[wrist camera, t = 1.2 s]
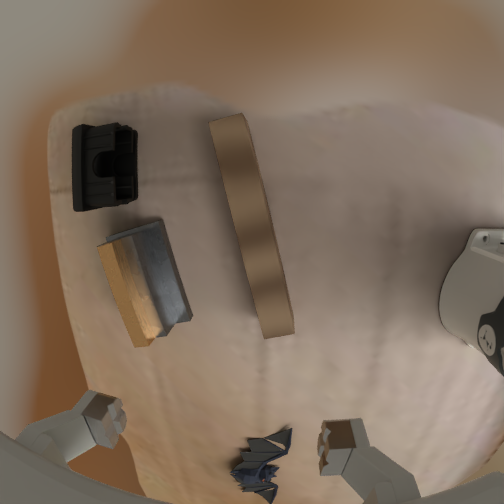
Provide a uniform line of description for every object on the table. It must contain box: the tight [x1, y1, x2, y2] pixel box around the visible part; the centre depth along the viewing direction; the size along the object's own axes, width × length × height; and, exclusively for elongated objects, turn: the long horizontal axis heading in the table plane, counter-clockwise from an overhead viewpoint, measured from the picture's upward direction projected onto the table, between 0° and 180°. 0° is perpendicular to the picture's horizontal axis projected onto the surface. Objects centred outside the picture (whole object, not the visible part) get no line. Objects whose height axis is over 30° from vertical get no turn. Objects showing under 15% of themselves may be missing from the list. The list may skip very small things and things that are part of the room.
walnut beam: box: [208, 113, 295, 339], centre depth 32 cm, size 24×4×5 cm, turn 14°
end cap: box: [72, 122, 138, 212], centre depth 31 cm, size 10×7×7 cm
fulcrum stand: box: [97, 220, 193, 347], centre depth 33 cm, size 8×13×8 cm, turn 14°
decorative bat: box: [230, 428, 292, 504], centre depth 44 cm, size 30×4×10 cm
